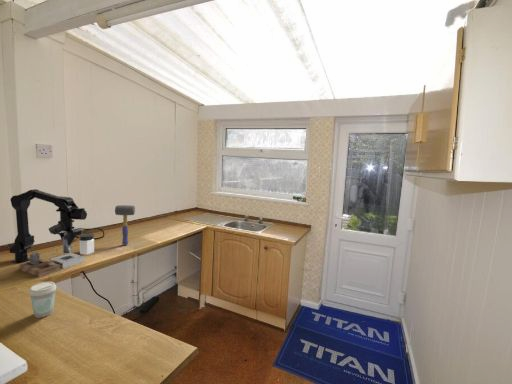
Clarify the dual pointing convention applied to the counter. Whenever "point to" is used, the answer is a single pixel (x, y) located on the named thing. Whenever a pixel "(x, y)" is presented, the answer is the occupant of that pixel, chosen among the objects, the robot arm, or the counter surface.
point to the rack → (38, 266)
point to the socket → (67, 260)
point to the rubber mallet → (125, 219)
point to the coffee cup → (43, 298)
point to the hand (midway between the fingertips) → (67, 244)
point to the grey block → (66, 245)
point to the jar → (86, 244)
